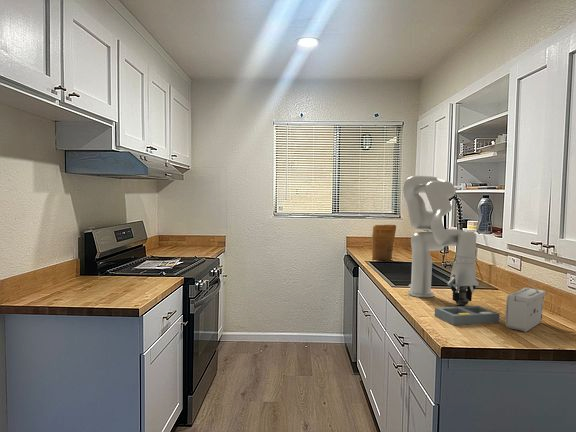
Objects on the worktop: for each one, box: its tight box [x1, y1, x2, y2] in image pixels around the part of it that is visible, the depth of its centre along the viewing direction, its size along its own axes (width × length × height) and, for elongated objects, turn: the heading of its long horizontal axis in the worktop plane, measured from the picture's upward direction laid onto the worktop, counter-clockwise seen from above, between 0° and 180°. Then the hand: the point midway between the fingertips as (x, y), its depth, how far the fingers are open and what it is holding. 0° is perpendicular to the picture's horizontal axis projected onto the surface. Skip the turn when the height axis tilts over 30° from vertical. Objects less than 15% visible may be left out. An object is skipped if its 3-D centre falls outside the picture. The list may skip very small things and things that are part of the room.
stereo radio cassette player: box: [504, 278, 547, 333], centre depth 158 cm, size 21×8×20 cm, turn 133°
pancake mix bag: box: [371, 224, 397, 261], centre depth 314 cm, size 7×19×28 cm, turn 95°
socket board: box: [434, 305, 501, 326], centre depth 164 cm, size 12×21×4 cm, turn 105°
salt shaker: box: [454, 286, 470, 307], centre depth 178 cm, size 6×6×12 cm
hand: (461, 300), depth 178 cm, fingers closed on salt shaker, 5 cm apart
